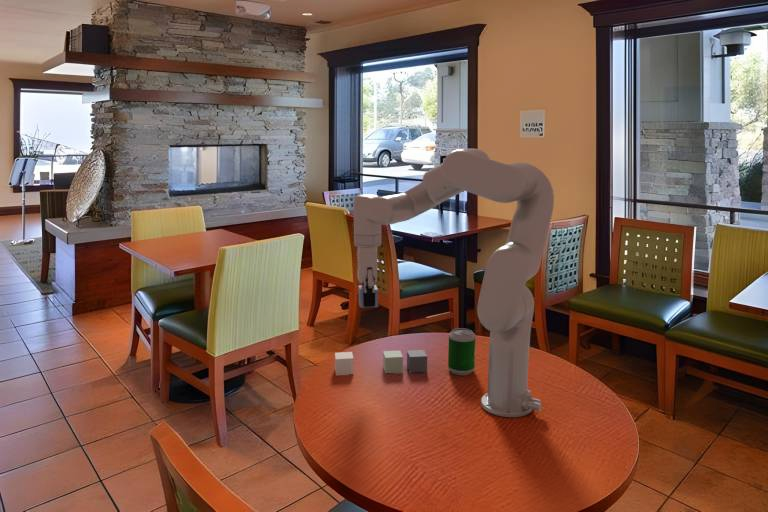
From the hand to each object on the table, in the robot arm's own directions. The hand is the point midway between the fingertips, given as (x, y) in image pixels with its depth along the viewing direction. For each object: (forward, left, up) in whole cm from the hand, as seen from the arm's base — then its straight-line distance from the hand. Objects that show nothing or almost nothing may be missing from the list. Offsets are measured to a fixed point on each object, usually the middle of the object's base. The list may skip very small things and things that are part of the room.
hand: (368, 302), depth 159 cm
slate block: (0, 0, -1) cm, 1 cm away
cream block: (+5, +5, -21) cm, 22 cm away
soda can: (-21, -16, -21) cm, 34 cm away
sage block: (-5, -5, -21) cm, 22 cm away
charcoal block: (-10, -9, -21) cm, 25 cm away
